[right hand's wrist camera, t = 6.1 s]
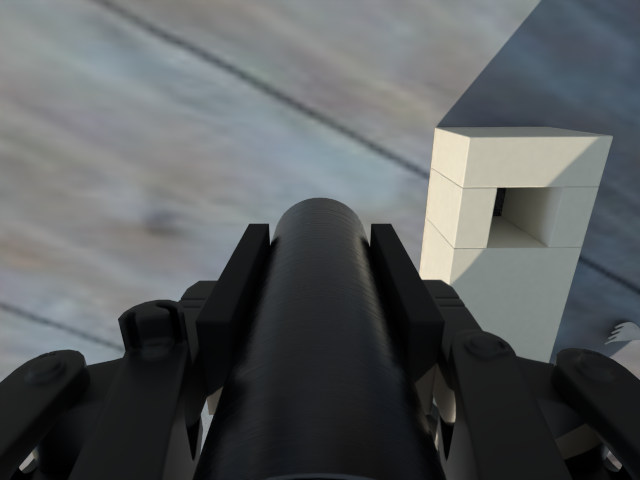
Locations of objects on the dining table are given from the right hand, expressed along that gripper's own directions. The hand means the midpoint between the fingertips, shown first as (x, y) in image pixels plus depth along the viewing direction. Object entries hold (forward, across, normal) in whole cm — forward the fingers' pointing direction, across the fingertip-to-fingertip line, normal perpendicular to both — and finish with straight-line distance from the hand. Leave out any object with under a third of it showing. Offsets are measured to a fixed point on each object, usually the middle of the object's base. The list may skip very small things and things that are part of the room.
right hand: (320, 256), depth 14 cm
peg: (+2, 0, 0) cm, 2 cm away
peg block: (+21, +15, -12) cm, 28 cm away
